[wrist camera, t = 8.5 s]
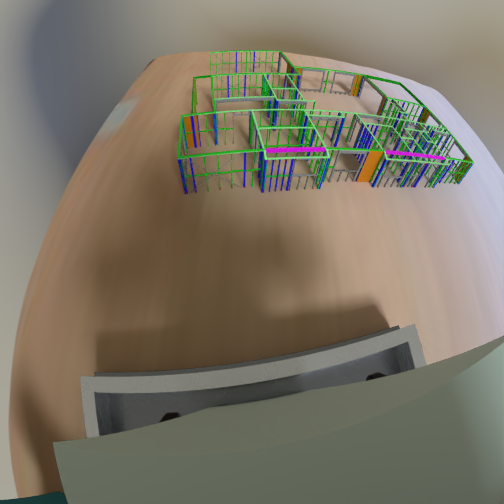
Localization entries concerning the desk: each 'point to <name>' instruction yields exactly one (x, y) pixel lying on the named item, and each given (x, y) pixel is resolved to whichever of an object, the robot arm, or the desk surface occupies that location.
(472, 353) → the door panel
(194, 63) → the desk surface
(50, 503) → the teal curved piece
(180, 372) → the door track
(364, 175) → the house model
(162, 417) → the robot arm
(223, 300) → the desk surface
